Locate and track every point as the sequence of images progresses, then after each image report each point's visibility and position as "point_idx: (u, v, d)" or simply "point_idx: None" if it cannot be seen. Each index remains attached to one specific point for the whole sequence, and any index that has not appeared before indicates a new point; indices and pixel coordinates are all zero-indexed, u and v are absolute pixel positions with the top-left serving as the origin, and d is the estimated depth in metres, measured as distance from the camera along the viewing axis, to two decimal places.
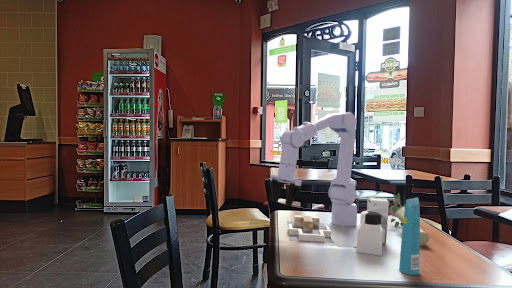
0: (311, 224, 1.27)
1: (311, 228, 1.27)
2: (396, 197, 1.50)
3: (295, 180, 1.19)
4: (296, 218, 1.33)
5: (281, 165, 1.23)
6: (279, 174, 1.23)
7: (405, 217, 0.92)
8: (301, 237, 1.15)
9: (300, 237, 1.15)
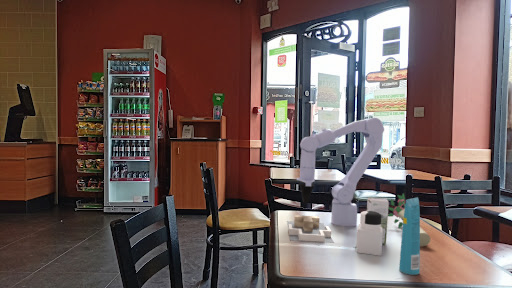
0: (311, 224, 1.27)
1: (311, 228, 1.27)
2: (400, 198, 1.49)
3: (305, 181, 1.34)
4: (296, 218, 1.33)
5: (300, 168, 1.41)
6: None
7: (405, 217, 0.92)
8: (301, 237, 1.15)
9: (300, 237, 1.15)
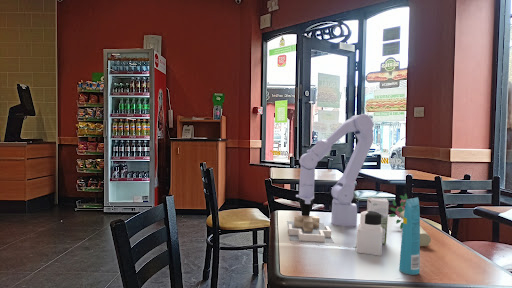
0: (311, 224, 1.27)
1: (311, 228, 1.27)
2: (403, 198, 1.48)
3: (305, 199, 1.34)
4: (296, 218, 1.33)
5: (299, 185, 1.40)
6: (299, 193, 1.41)
7: (405, 217, 0.92)
8: (301, 237, 1.15)
9: (300, 237, 1.15)
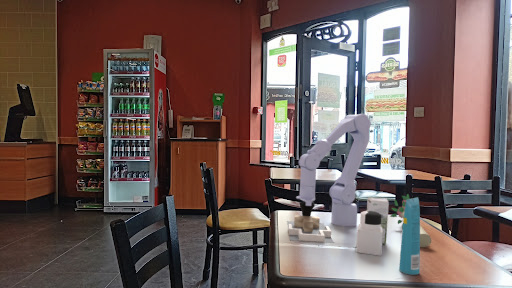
0: (311, 224, 1.27)
1: (311, 228, 1.27)
2: (405, 198, 1.47)
3: (305, 201, 1.30)
4: (296, 218, 1.33)
5: (300, 187, 1.37)
6: None
7: (405, 217, 0.92)
8: (301, 237, 1.15)
9: (300, 237, 1.15)
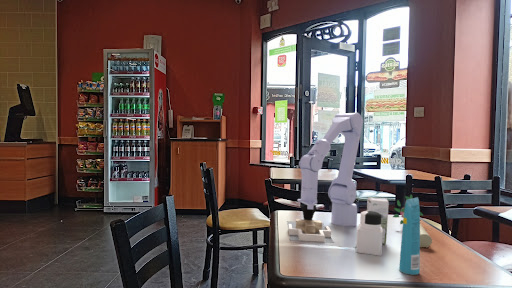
0: (313, 229, 1.20)
1: (313, 233, 1.20)
2: None
3: (307, 204, 1.24)
4: (297, 222, 1.27)
5: (301, 189, 1.30)
6: (301, 197, 1.31)
7: (405, 217, 0.92)
8: (301, 237, 1.15)
9: (300, 237, 1.15)
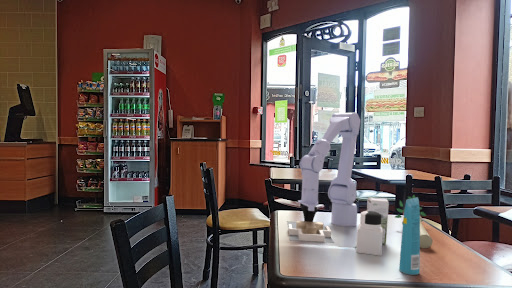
0: (314, 231, 1.18)
1: None
2: None
3: (308, 205, 1.22)
4: (298, 224, 1.24)
5: (302, 190, 1.28)
6: (301, 199, 1.28)
7: (405, 217, 0.92)
8: (301, 237, 1.15)
9: (300, 237, 1.15)
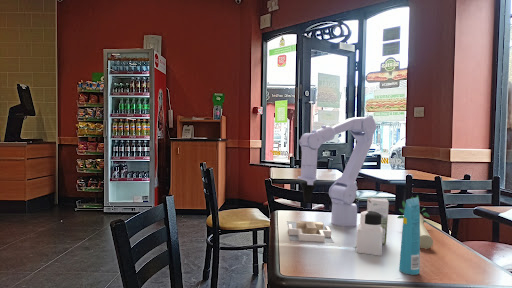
0: (314, 231, 1.18)
1: None
2: None
3: (307, 180, 1.28)
4: (298, 224, 1.24)
5: (301, 166, 1.34)
6: None
7: (405, 217, 0.92)
8: (301, 237, 1.15)
9: (300, 237, 1.15)
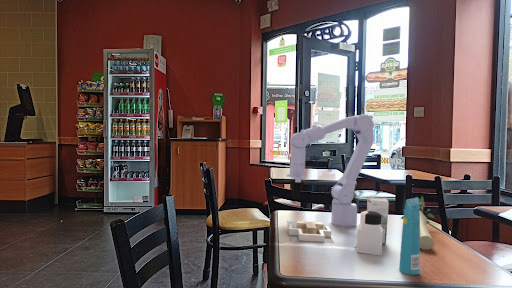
0: (314, 231, 1.18)
1: None
2: (419, 200, 1.43)
3: (295, 177, 1.34)
4: (298, 224, 1.24)
5: (290, 165, 1.40)
6: None
7: (405, 217, 0.92)
8: (301, 237, 1.15)
9: (300, 237, 1.15)
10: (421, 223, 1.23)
